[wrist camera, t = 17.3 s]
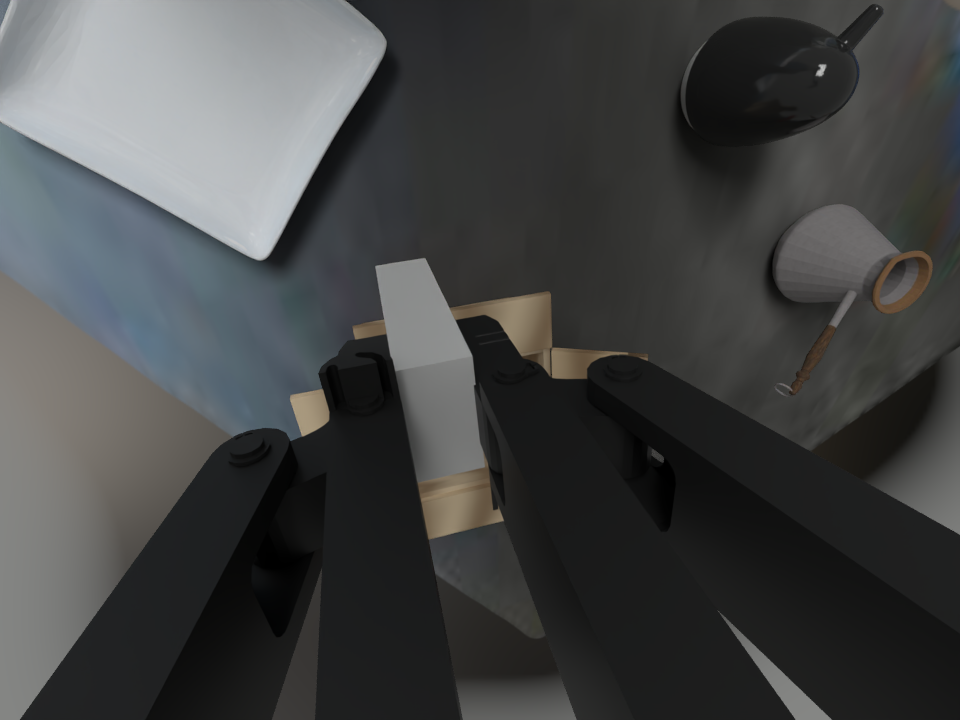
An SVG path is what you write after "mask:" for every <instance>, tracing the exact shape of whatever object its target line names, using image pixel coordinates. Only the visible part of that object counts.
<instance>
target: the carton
mask: <svg viewBox="0 0 960 720" xmlns="http://www.w3.org/2000/svg"><path fill="white" fill-rule="evenodd" d="M449 309H450V311H451V313H452V315H453V317H454V319H455V320H458V319H463V318H469V317H474V316H480V315H487V316H489V317H491V318H493V319H495V320H497V321H498V322H499V323H500V325H501V326H502V328H503V329H504V332H506V334H507V335H508V337H509V339H510V340H511V341H512V343H513V344H514V346H515V347H516V349H517V350H518V352H519V353H520V355H521V356H522V358H523V359H529V360H531V361H534V362H537V363H538V364H540V365H541V366H542V367H543V368H544V369H545V370H546V372H547V373H548V374H549V376H550V348H552V324H551V293H550V292H549V291H547V292H541V293H535V294H530V295H524V296H518V297H513V298H511V297H508V298H502V299H497V300H491V301H485V302H480V303H474V304H468V305H463V306H457V307H451V308H449ZM353 332H354V336H355V340H356V339H361V338H367V337H372V336H378V335H383V334H387V333H386V327H385V321H384V320H378V321H372V322H367V323H362V324H360V325H355V326H353ZM550 377H551V376H550ZM290 401H291V404H292V407H293V410H294V413H295V416H296V419H297V422H298V425H299V428H300V431H301V434H302V437H303V436H305V435H307V434H309V433H311V432H313V431H316V430H317V429H319V428H320V427H322V426H323V425H325V424H326V423H327V422H328V421H329V409H328V405H327V402H326V398H325V395H324V392H323V389H320V390H315V391H310V392H305V393H300V394H295V395H291V397H290ZM483 455H484V464H485V467H484V468H479V469H475V470H471V471H466V472H462V473H458V474H453V475H449V476H445V477H440V478H436V479H432V480H427V481H423V482H419V483H418V487H419V492H420V497H421V503H422V508H423V513H424V518H425V524H426V529H427V534H428V539H433V538H437V537H441V536H445V535H449V534H453V533H457V532H461V531H465V530H469V529H473V528H477V527H481V526H485V525H489V524H493V523H497V522H501V521H504V520H503V517H502V514H501V511H500V509H499V506H498V510H493V505H492V495H491V486H490V477H489V468H488V462H487V459H486V457H485V454H484V452H483Z"/></svg>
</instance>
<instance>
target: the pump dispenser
mask: <svg viewBox="0 0 960 720" xmlns="http://www.w3.org/2000/svg"><path fill="white" fill-rule="evenodd" d="M883 12H884V11H883V8H882V7H881V6H879V5H877V4H872V5H870V6H869V7H868V8H867V9H866V10H865V11H864V12H863V13H862V14H861V15H860V16H859V17H858V18H857V19H856V20H855V21H854V22H853V23H852V24H851V25H850V26H849V27H848V28H847V29H846V30H845V31H844V32H843V33H842V34H840V35H839V36H838V37H837V36H835V35H833V34H832V33H830V32H829V31H827V30H825V29H823V28H821V27H819V26H816V25H814V24H811V23H807V22H804V21H800V20H796V19H790V18H782V17H750V18H744V19H740V20H736V21H733V22H731V23H729V24H727V25H725V26H724V27H722V28H721V29H719V30H718V31H717V32H716V33H714V34H713V35H712V36H711V37H710V38H709V39H708V40H707V41H706V42H705V43H704V44H703V45H702V46H701V47H700V48H699V49H698V51H697V52H696V53H695V55H694V56H693V57H692V59H691V61H690V62H689V64H688V66H687V69H686V71H685V74H684V77H683V81H682V86H681V106H682V110H683V113H684V116H685V118H686V120H687V122H688V123H689V125H690V126H691V127H692V128H693V129H694V131H695V132H696V133H697V135H698V136H699V137H700V138H702V139H703V140H704V141H706V142H708V143H710V144H713V145H717V146H724V147H742V146H753V145H760V144H765V143H770V142H774V141H778V140H781V139H784V138H788V137H791V136H794V135H796V134H799V133H802V132H804V131H807V130H809V129H811V128H813V127H815V126H817V125H819V124H821V123H823V122H824V121H826V120H828V119H829V118H830V117H832V116H833V115H835V114H836V113H837V112H838V111H839V110H841V109H842V108H843V107H844V106H845V104H846V103H847V102H848V101H849V99H850V98H851V96H852V95H853V93H854V91H855V89H856V86H857V84H858V80H859V65H858V62H857V59H856V57H855V55H854V53H853V51H852V50H853V49H854V48H855V47H856V45H857V44H858V43H859V42H860V41H861V39H862V38H863V37H864V36H865V35H866V34H867V32H868V31H869V30H870V29H871V28H872V27H873V25H874V24H875V23H876V22H877V21H878V19H879V18H880V17H881V16H882V15H883Z"/></svg>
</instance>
